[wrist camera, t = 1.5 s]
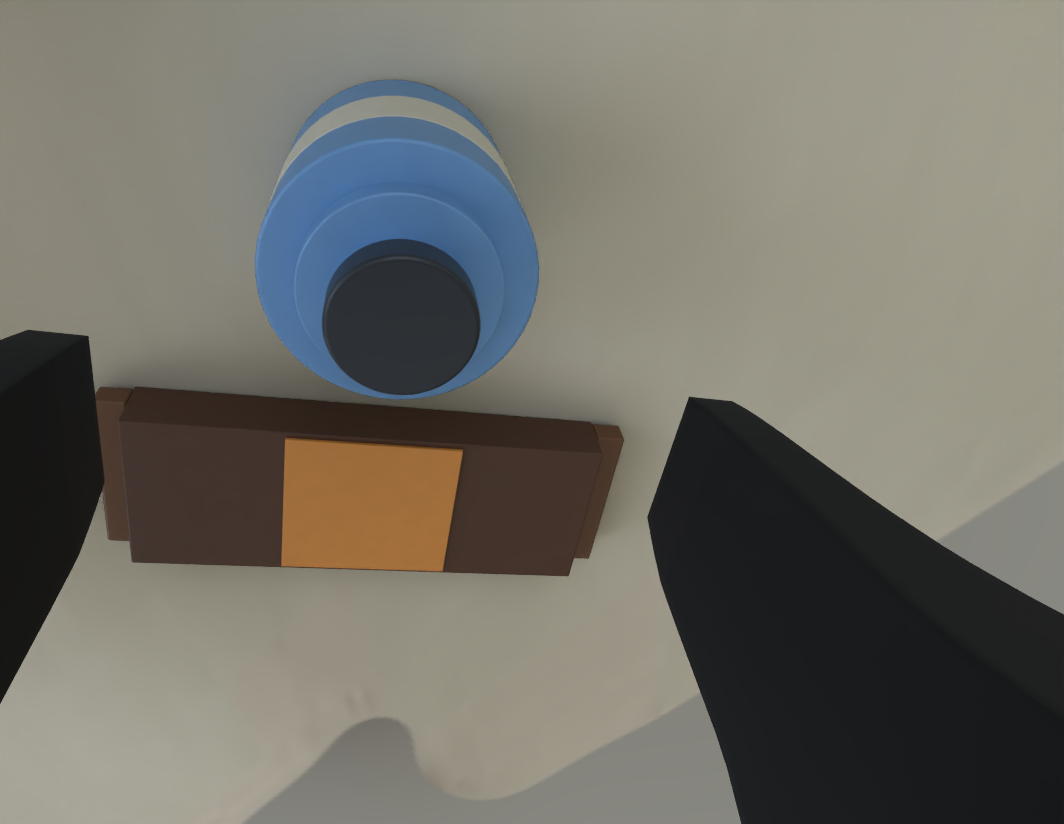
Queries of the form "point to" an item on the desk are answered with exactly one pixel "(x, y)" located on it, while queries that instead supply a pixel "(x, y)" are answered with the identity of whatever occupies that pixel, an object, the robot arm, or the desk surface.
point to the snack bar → (348, 484)
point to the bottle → (396, 245)
